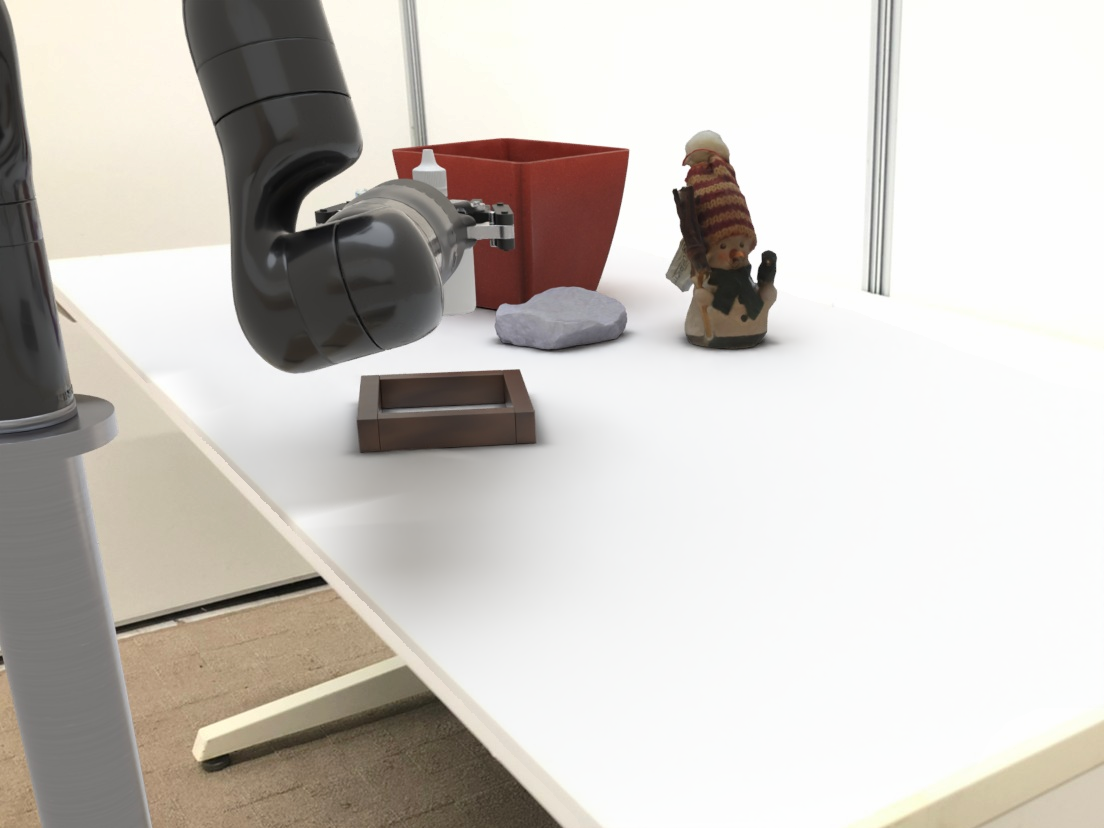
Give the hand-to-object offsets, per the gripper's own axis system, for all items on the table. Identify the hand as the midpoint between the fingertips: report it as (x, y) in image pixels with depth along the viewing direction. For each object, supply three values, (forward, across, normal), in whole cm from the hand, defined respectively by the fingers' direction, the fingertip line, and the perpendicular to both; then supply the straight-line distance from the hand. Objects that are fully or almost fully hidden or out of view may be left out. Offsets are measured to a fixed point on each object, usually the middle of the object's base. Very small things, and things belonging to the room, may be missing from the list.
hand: (436, 212), depth 97 cm
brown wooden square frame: (-2, 0, +16) cm, 16 cm away
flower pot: (+47, -1, +16) cm, 49 cm away
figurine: (+28, -23, +16) cm, 40 cm away
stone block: (+28, -8, +16) cm, 33 cm away
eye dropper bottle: (-2, 0, +7) cm, 8 cm away
